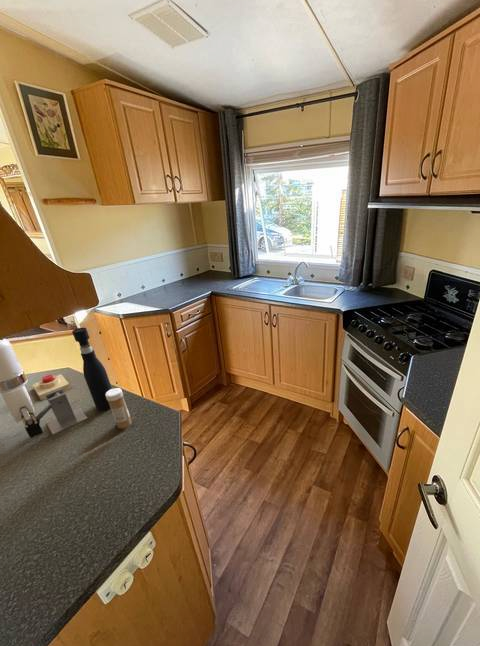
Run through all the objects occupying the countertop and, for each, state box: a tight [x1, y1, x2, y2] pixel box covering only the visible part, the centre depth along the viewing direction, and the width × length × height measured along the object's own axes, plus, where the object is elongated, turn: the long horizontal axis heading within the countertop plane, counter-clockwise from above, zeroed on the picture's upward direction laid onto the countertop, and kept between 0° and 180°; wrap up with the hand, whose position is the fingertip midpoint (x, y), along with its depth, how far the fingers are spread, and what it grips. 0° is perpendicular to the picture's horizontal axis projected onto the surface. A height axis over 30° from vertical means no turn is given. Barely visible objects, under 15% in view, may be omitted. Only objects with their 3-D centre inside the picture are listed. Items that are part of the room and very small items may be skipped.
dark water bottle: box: [71, 327, 113, 412], centre depth 96 cm, size 6×6×30 cm
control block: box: [31, 373, 71, 401], centre depth 115 cm, size 12×10×4 cm
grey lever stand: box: [45, 388, 88, 436], centre depth 94 cm, size 10×8×12 cm
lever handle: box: [31, 392, 60, 425], centre depth 90 cm, size 12×3×3 cm
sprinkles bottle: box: [105, 387, 133, 429], centre depth 91 cm, size 5×5×14 cm
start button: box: [41, 374, 54, 383], centre depth 114 cm, size 4×4×2 cm
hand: (33, 427), depth 89 cm, fingers open, 9 cm apart
